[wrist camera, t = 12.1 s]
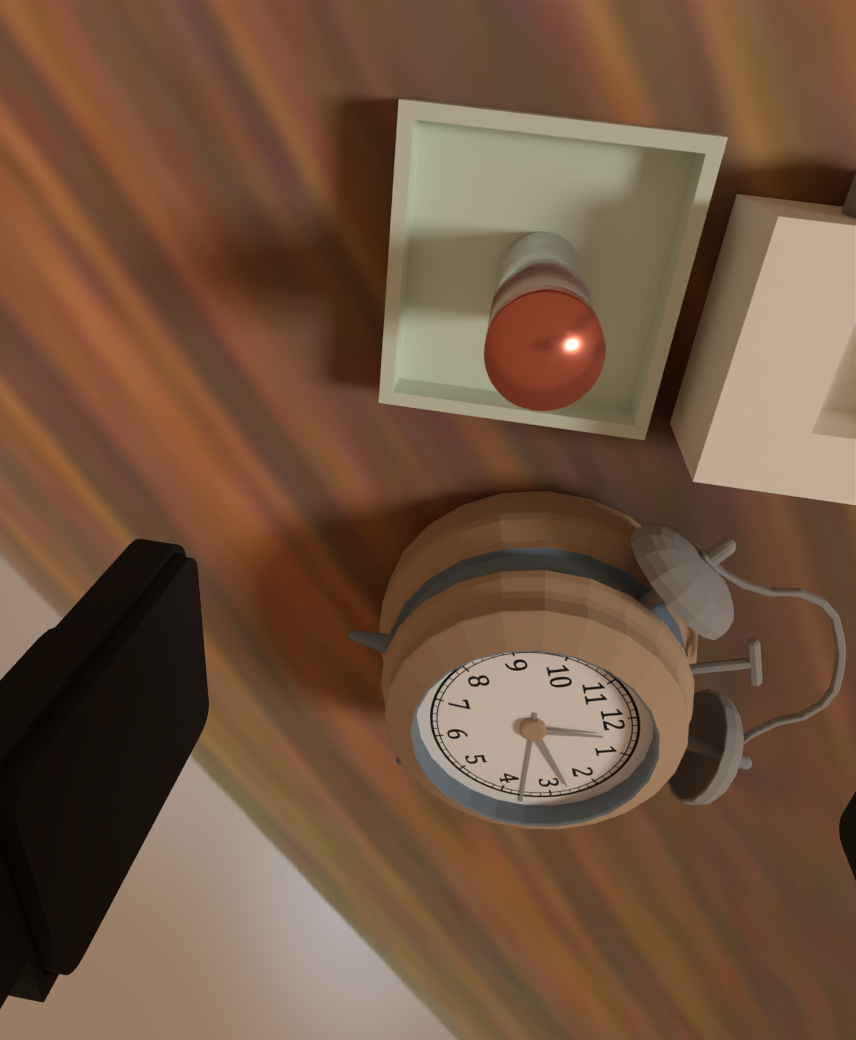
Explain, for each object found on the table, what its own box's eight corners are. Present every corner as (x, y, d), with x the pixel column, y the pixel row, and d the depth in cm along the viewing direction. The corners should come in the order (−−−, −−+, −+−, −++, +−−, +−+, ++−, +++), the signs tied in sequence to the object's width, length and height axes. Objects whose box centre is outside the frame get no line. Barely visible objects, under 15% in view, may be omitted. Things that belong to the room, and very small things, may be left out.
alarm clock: (298, 624, 32) (886, 543, 26) (346, 517, 40) (806, 438, 34) (404, 870, 40) (874, 848, 34) (426, 740, 48) (811, 706, 42)
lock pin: (502, 226, 31) (492, 285, 21) (589, 236, 30) (617, 301, 21) (491, 313, 32) (476, 403, 23) (573, 322, 32) (592, 417, 23)
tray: (409, 98, 29) (398, 98, 27) (713, 133, 28) (727, 137, 26) (388, 383, 35) (378, 402, 33) (638, 418, 35) (644, 440, 32)
